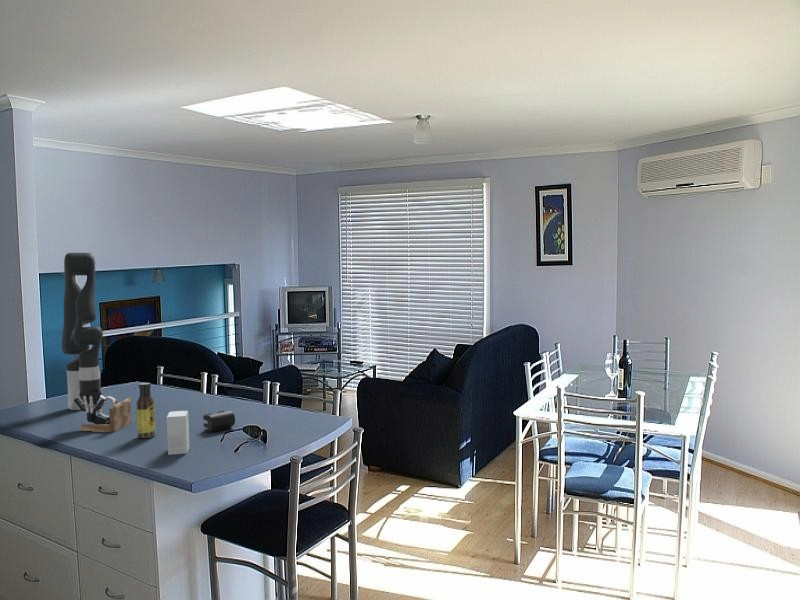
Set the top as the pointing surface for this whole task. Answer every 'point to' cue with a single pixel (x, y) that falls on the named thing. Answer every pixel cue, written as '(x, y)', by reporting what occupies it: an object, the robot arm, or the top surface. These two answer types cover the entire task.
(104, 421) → the watch
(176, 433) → the small box
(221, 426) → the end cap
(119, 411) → the display stand
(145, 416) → the sauce bottle
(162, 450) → the top surface
